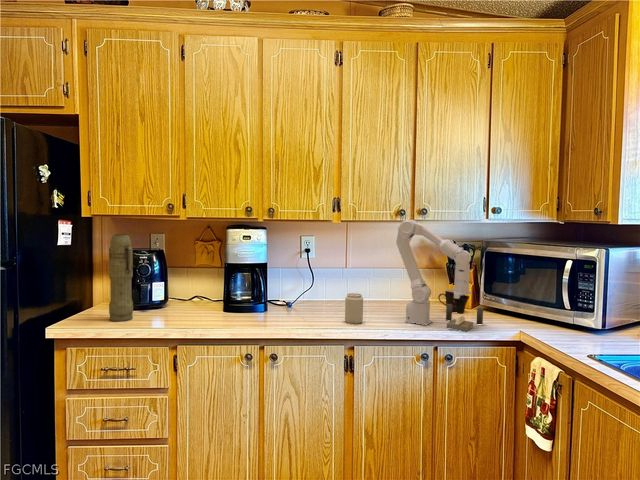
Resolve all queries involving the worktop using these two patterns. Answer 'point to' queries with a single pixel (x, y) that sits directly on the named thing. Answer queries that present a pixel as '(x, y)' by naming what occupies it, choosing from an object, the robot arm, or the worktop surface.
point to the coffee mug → (449, 299)
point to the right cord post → (479, 315)
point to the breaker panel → (460, 325)
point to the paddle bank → (460, 320)
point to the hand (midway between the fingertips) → (460, 313)
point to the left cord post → (449, 311)
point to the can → (354, 308)
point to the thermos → (120, 278)
